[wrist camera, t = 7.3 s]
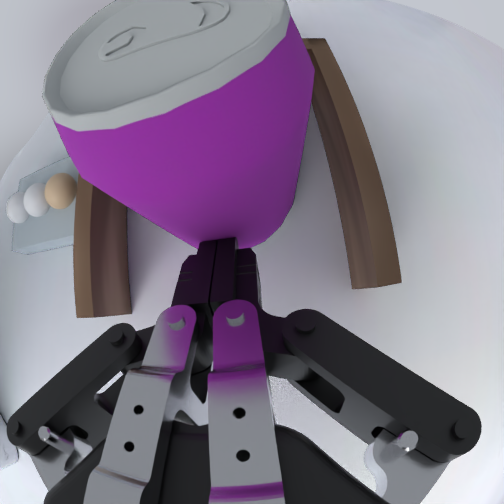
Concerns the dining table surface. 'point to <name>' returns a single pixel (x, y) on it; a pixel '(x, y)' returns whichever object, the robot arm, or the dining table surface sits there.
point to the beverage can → (188, 112)
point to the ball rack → (44, 208)
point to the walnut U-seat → (345, 183)
